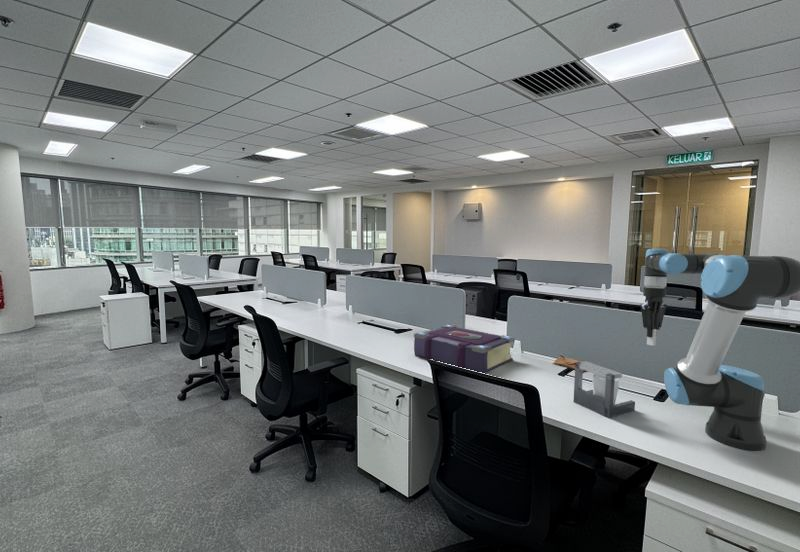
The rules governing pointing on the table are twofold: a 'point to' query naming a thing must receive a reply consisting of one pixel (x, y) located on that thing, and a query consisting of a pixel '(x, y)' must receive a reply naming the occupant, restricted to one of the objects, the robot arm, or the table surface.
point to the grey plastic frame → (596, 402)
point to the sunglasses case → (566, 362)
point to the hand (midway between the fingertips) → (651, 344)
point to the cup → (603, 386)
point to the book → (464, 348)
